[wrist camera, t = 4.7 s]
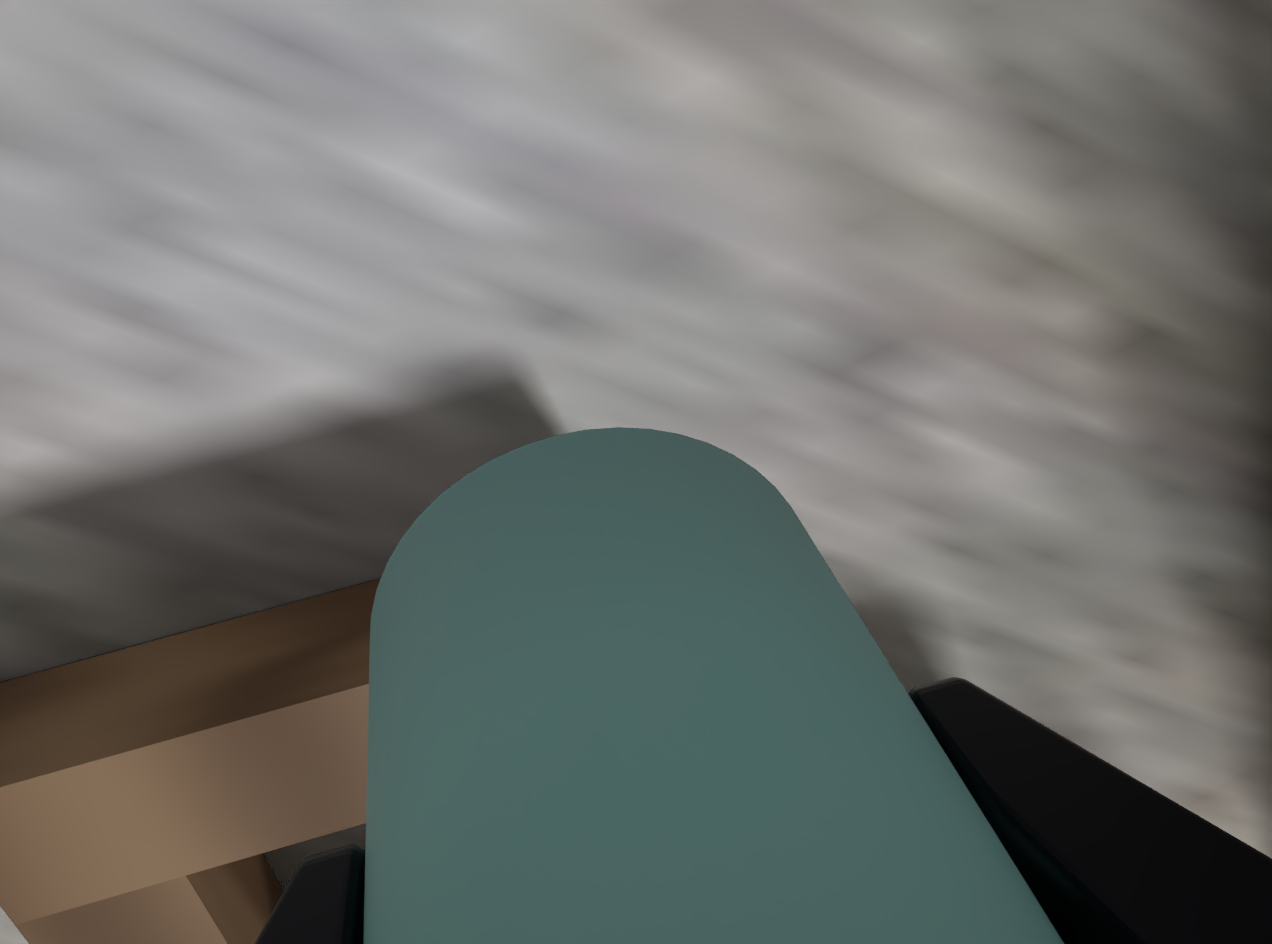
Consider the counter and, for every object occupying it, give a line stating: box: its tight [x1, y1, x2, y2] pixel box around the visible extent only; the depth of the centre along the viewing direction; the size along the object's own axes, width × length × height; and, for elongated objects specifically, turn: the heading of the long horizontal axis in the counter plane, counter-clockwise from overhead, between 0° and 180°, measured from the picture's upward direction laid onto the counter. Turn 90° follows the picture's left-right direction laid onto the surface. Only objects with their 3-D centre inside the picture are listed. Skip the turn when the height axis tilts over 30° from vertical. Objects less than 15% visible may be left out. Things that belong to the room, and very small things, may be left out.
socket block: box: [0, 579, 380, 944], centre depth 22 cm, size 12×12×3 cm
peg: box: [363, 428, 1064, 944], centre depth 7 cm, size 4×4×6 cm
